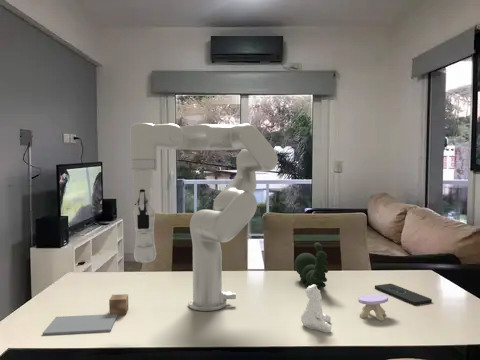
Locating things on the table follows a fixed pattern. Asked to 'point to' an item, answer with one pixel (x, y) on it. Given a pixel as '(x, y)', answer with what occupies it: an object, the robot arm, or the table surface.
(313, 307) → the seated beast figurine
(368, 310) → the toy table
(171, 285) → the table surface
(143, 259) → the plastic bottle
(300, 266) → the toy figurine
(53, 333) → the slate mat
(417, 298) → the smart home device
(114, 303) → the walnut block
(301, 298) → the table surface
